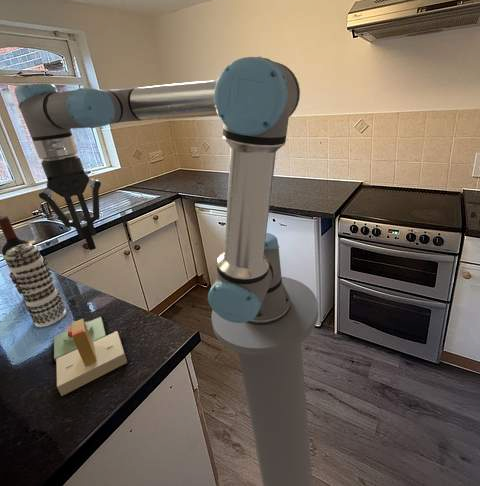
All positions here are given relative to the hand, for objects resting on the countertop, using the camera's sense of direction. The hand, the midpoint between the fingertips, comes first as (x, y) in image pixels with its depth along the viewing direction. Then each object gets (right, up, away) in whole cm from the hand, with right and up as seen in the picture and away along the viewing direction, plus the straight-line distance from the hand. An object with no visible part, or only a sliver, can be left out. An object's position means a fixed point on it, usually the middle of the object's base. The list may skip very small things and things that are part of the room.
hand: (92, 247), depth 77 cm
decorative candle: (-24, -24, +17) cm, 38 cm away
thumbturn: (+1, -26, -3) cm, 27 cm away
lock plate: (+2, -29, -2) cm, 29 cm away
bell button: (-8, -24, +6) cm, 26 cm away
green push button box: (-7, -27, +7) cm, 28 cm away
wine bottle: (-38, -21, +30) cm, 52 cm away
